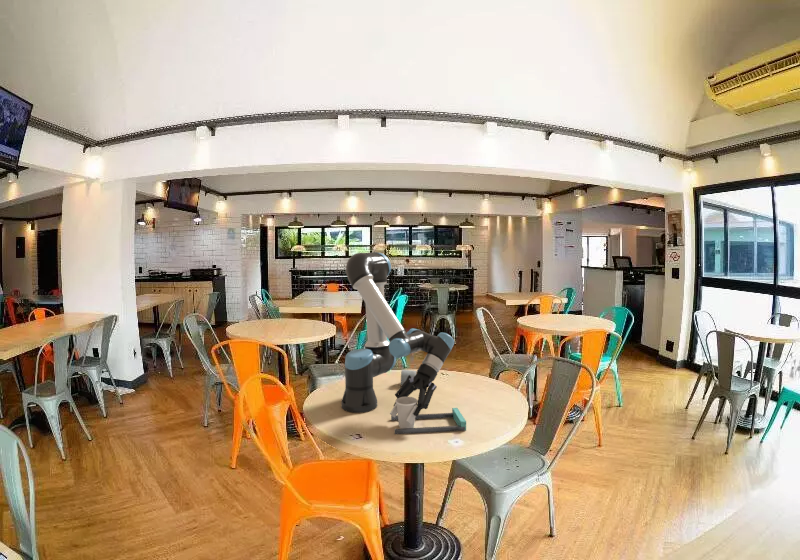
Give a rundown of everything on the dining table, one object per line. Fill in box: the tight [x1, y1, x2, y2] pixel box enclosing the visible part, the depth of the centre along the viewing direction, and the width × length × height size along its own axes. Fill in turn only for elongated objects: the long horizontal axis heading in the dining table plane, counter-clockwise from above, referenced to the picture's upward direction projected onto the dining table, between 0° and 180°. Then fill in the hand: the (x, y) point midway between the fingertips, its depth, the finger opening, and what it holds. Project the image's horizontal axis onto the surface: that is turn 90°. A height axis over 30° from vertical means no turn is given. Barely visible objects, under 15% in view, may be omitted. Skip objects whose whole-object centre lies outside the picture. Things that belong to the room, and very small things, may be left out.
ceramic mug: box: [400, 368, 417, 387], centre depth 214 cm, size 11×8×8 cm
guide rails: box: [390, 412, 465, 435], centre depth 167 cm, size 26×13×2 cm, turn 97°
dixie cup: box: [395, 396, 418, 429], centre depth 165 cm, size 8×8×10 cm
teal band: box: [451, 407, 467, 432], centre depth 168 cm, size 2×13×4 cm, turn 7°
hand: (400, 419), depth 163 cm, fingers closed on dixie cup, 8 cm apart
